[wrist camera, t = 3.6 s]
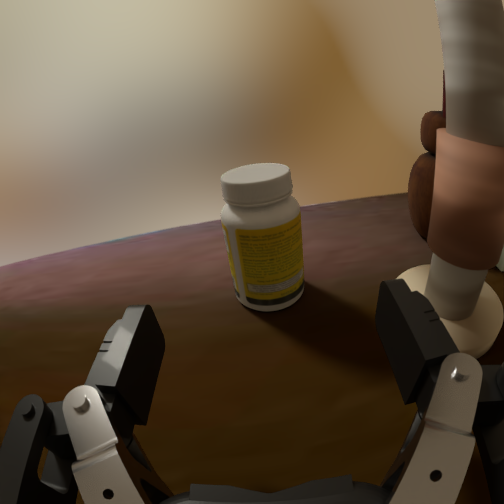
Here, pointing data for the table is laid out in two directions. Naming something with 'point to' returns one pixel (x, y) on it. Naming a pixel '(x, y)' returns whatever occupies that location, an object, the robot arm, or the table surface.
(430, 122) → the wooden figurine
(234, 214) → the supplement bottle
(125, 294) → the table surface
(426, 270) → the bobbin post
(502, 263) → the notched board
